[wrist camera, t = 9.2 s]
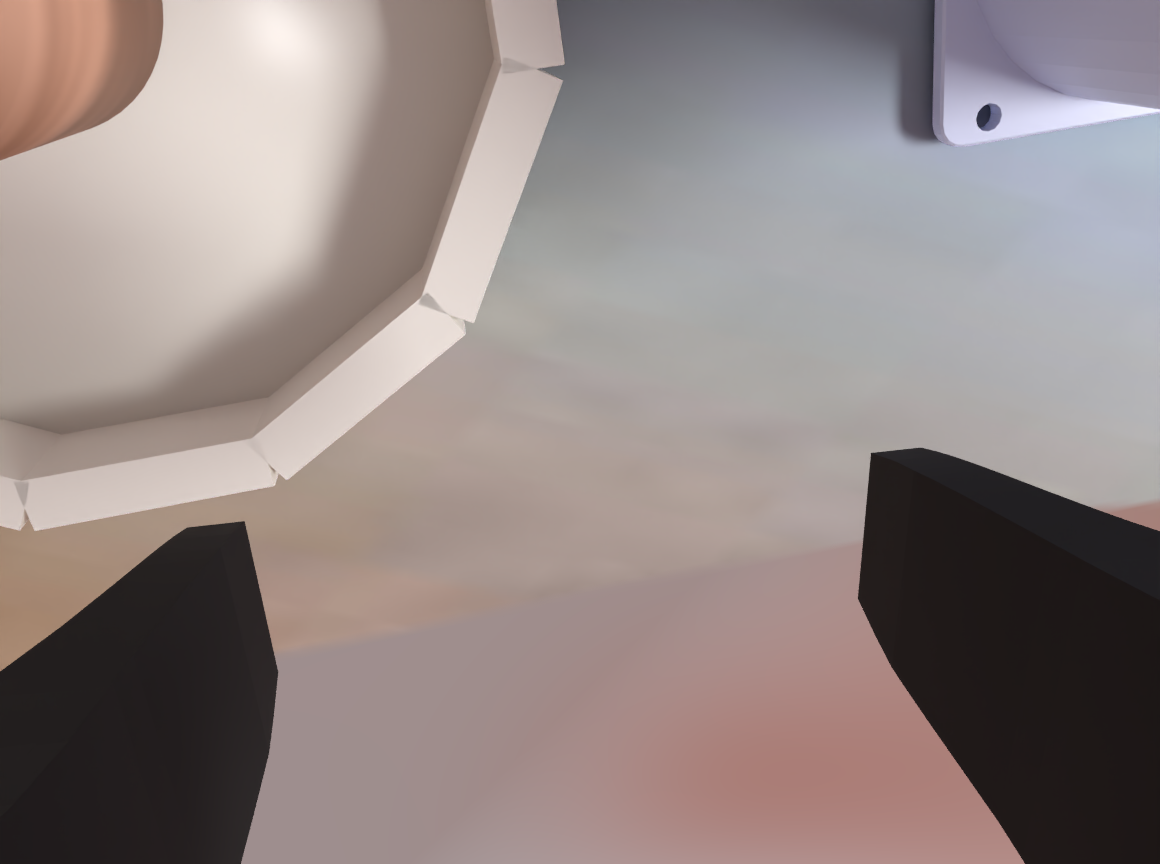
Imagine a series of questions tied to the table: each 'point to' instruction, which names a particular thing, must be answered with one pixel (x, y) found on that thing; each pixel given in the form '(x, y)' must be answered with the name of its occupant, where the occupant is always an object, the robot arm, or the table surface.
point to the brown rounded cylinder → (71, 65)
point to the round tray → (257, 243)
